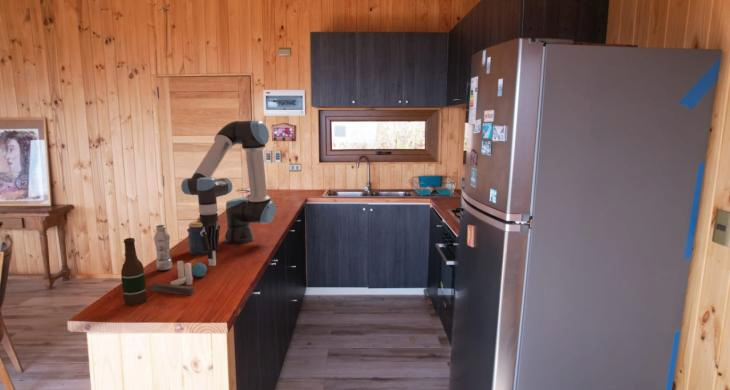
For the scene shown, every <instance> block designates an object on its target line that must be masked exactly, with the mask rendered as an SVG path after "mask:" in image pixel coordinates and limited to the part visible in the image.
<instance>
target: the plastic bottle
mask: <svg viewBox="0 0 730 390" xmlns="http://www.w3.org/2000/svg"><path fill="white" fill-rule="evenodd" d="M155 230H156V233H155V234H154V237H153V240H154V245H155V250H156V264H155V265H156V269H157V270H159V271H167V270H170V269H172V267H173V260H172V257H171V252H170V239H171V238H170V237H171V236H170V235H169V233H168V232H167V231H166V225H165V224H159V225H156V227H155Z"/></svg>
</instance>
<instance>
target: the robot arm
mask: <svg viewBox="0 0 730 390" xmlns="http://www.w3.org/2000/svg"><path fill="white" fill-rule="evenodd" d="M268 129H269V128H268V126H267V125H266V124H265V123H264V122H263V121H261V120H241V121H240V120H235V121H231V122H229V123H227V124H225V125H224V126H223V127H222V128H221V129H220V130H219V131H218V132H217V133H216V135H215V136H214V139H213V141H214V142H213V144H212V145H211V147H210V148H209V150H208V151H207V153H206V154H205V156H204V157H203V159H202V161H201V162H200V164H199V165H198V167H197V168H196V170H195V171H194V173H193V174H192V176H191V178H190V177H189V178H188V177H187V178H185V179H183V180H182V182H181V185H180V188H181V191H182V193H183V194H185V195H189V196H197V198H198V199H197V200H198V211H199V212H198V213H199V216H198V217H200V222H201V223H202V224H203V225H202V231H201V232H199V235H200V237H201V241H202V245H203V249H204V251H206V252H208V254H207V259H208V266H212V267H213V266H216V265H217V257H216V256H217V254H216V251H218V249H219V241H220V229H221V225H218V223H217V222H218V221H219V214H218V213H217V212H218V203H217V202H218V200H217V198H219V197H223V196H226V195H228V194H230V193H231V192H232V190H233V183H232V181H231V180H230V179H229V178H226V177H223V178H216V179H215V178H214V177H213V175H214V173H216V170H217V168H218V167H219V165H220V164H221V162H222V161H223V159H224V157H225V156H226V154H227V152H228V150H231V149H232V148H233V146H235V145H241V149H243V150H244V151H245V155H246V156H245V157H246V158H245V159H246V165H247V166H246V167H247V175H248V176H247V177H248V188H249V195H250V196H249V197H237V198H233V199H229V200H227V201H226V203H225V212H226V213H225V215H226V224H227V225H226V227H227V228H226V231H225V236H224V242H225V243H227V244H228V245H229V244H232V245H239V244H240V245H241V244H246V243H250V242H252V241H254V238H255V237H254V233H253V231H252V229H251V226H250V223H253V224H270V223H271V222H272V221H273V219H274V217H275V215H276V209H277V208H276V203H275V202H274V201H272V200H271V197H270V195H268V193H267V191H268V190H267V189H268V188H267V182H266V181H267V180H266V170H265V160H264V149H265V148H266V144H268V142H269V138H270V133H269V130H268Z"/></svg>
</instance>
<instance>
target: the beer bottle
mask: <svg viewBox="0 0 730 390" xmlns="http://www.w3.org/2000/svg"><path fill="white" fill-rule="evenodd" d="M135 241H136V240H135V238H134V237H127V238H125V239H124V240H123V243H124V257H125V258H124V263H123V264H122V268H121V270H120V271H121V286H122V295H123V300H124V301H123V302H124V305H125V306H129V307H134V306H140V305H143V304H145V303H147V288H146V287H147V285H146V276H145V269H144V265H143V263H142V262H141V260H140V259H139V258H138V255H137V251H136V250H137V249H136V245H135Z"/></svg>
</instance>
